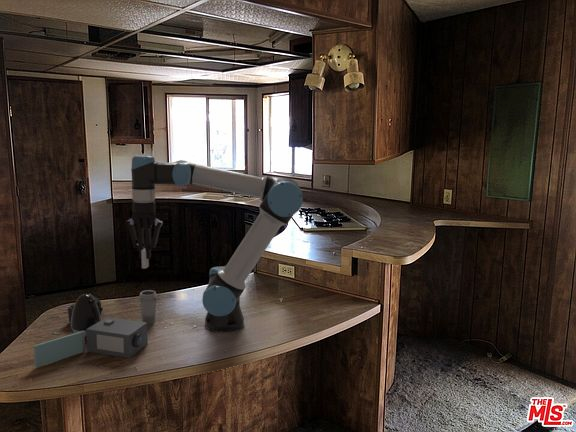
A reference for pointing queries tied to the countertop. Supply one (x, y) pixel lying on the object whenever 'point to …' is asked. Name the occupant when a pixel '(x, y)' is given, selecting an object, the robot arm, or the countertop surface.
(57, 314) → the countertop surface
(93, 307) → the black egg shape
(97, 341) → the box
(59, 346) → the side door
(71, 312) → the camera
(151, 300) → the cup
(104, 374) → the countertop surface
